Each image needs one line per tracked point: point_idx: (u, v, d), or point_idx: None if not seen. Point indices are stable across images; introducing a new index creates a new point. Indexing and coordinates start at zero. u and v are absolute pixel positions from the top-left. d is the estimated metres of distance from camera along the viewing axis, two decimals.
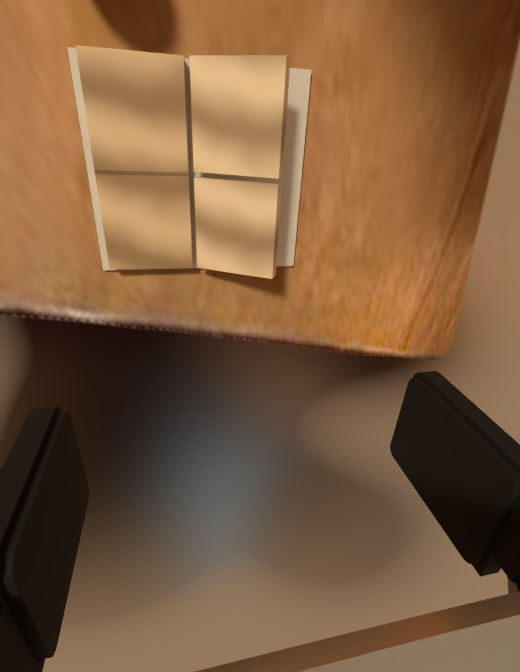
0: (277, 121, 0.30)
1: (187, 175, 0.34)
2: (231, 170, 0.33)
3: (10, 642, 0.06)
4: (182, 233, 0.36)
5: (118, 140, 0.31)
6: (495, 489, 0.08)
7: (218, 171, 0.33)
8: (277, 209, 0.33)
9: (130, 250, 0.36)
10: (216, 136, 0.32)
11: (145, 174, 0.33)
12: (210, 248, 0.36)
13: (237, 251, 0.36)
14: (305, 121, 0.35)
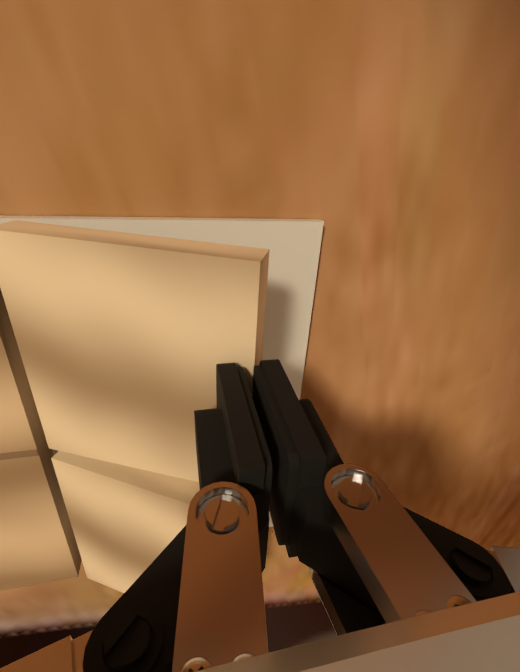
0: None
1: (35, 454, 0.15)
2: (134, 461, 0.14)
3: None
4: (45, 538, 0.17)
5: None
6: (284, 470, 0.08)
7: (104, 457, 0.14)
8: None
9: None
10: (88, 399, 0.13)
11: None
12: (105, 563, 0.17)
13: None
14: (308, 317, 0.16)
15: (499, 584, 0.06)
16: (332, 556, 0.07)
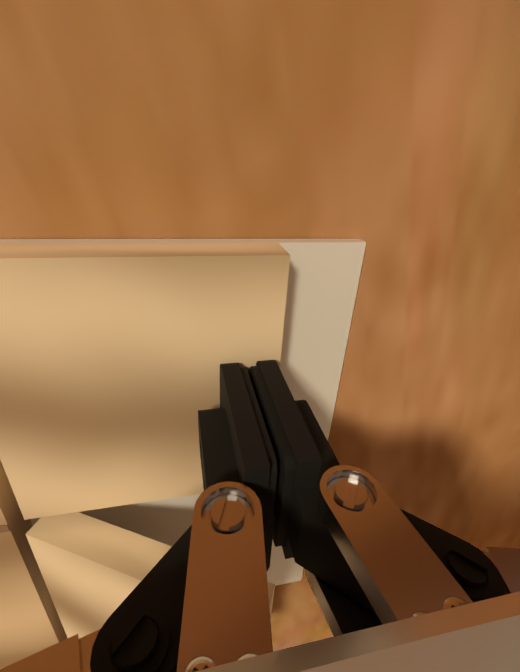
0: None
1: (5, 530, 0.12)
2: (143, 495, 0.12)
3: None
4: (22, 617, 0.14)
5: None
6: (280, 471, 0.08)
7: (105, 504, 0.12)
8: None
9: None
10: (85, 443, 0.11)
11: None
12: None
13: None
14: (341, 356, 0.13)
15: (495, 586, 0.06)
16: (328, 557, 0.07)
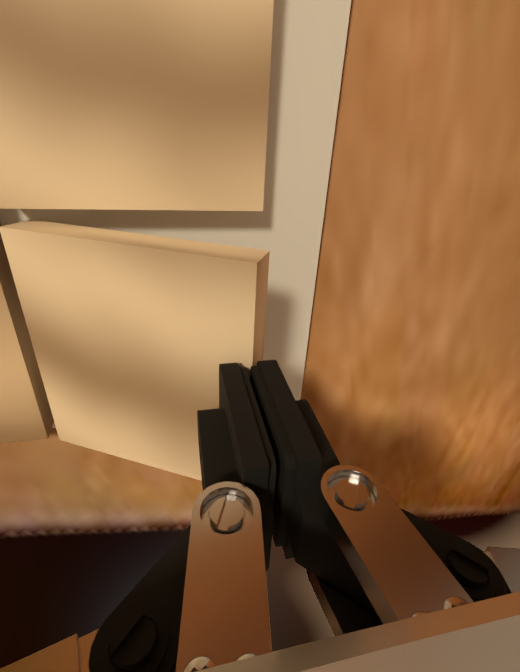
0: (256, 55, 0.10)
1: None
2: (127, 197, 0.11)
3: None
4: (1, 370, 0.13)
5: None
6: (280, 471, 0.08)
7: (85, 203, 0.11)
8: (256, 331, 0.10)
9: None
10: (60, 96, 0.10)
11: None
12: (80, 405, 0.14)
13: (150, 422, 0.13)
14: (340, 59, 0.12)
15: (495, 586, 0.06)
16: (329, 557, 0.07)
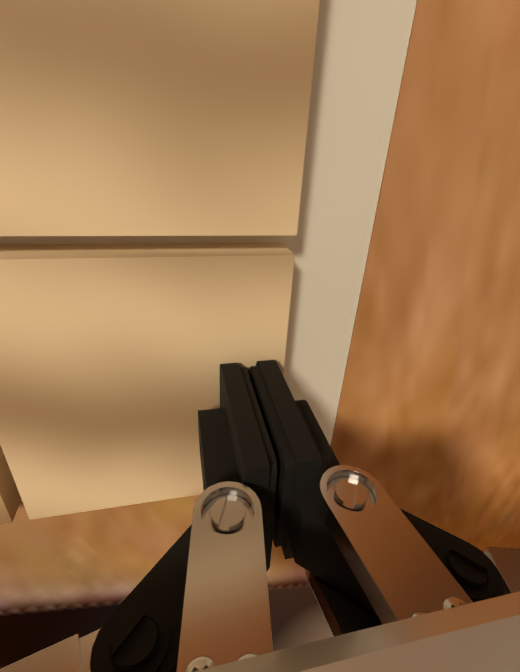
0: (298, 12, 0.07)
1: None
2: (109, 219, 0.08)
3: None
4: None
5: None
6: (280, 471, 0.08)
7: (49, 227, 0.08)
8: None
9: None
10: (4, 70, 0.07)
11: None
12: (66, 465, 0.11)
13: (165, 451, 0.12)
14: (407, 25, 0.09)
15: (495, 586, 0.06)
16: (328, 556, 0.07)
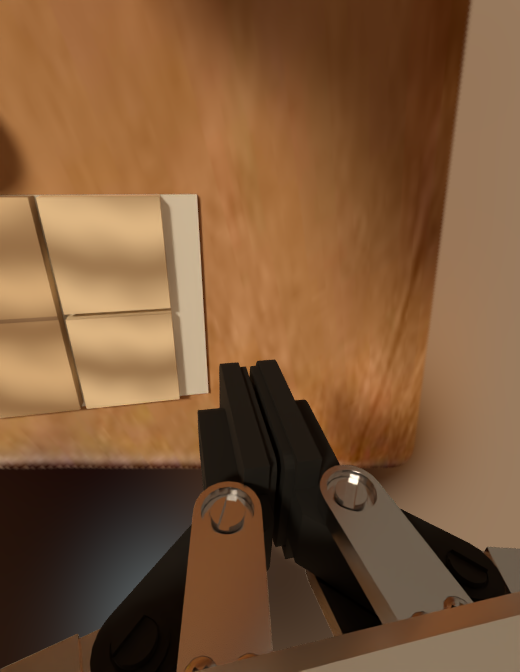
0: (159, 256, 0.28)
1: (56, 319, 0.29)
2: (113, 307, 0.29)
3: None
4: (61, 377, 0.31)
5: None
6: (280, 471, 0.08)
7: (97, 310, 0.29)
8: (173, 334, 0.31)
9: (0, 399, 0.31)
10: (88, 276, 0.28)
11: (3, 322, 0.28)
12: (100, 386, 0.32)
13: (135, 382, 0.32)
14: (198, 247, 0.30)
15: (495, 586, 0.06)
16: (328, 557, 0.07)
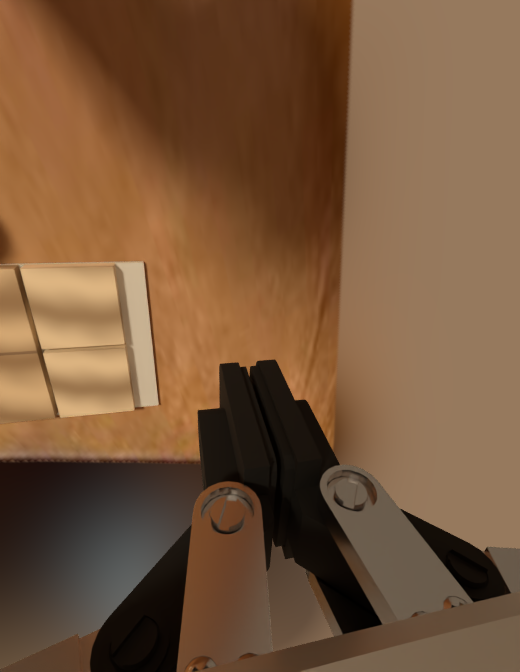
0: (114, 308, 0.37)
1: (36, 352, 0.38)
2: (80, 344, 0.38)
3: None
4: (40, 394, 0.40)
5: None
6: (280, 471, 0.08)
7: (67, 346, 0.38)
8: (127, 363, 0.41)
9: None
10: (60, 322, 0.37)
11: None
12: (70, 401, 0.41)
13: (98, 398, 0.42)
14: (146, 299, 0.39)
15: (495, 586, 0.06)
16: (328, 557, 0.07)
